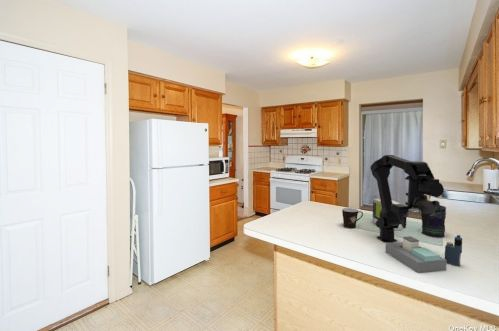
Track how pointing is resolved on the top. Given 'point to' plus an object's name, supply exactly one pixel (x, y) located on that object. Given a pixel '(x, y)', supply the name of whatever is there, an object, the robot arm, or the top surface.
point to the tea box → (377, 210)
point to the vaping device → (454, 251)
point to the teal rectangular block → (425, 254)
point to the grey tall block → (410, 243)
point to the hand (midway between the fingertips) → (414, 227)
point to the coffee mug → (350, 217)
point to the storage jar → (436, 224)
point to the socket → (414, 259)
